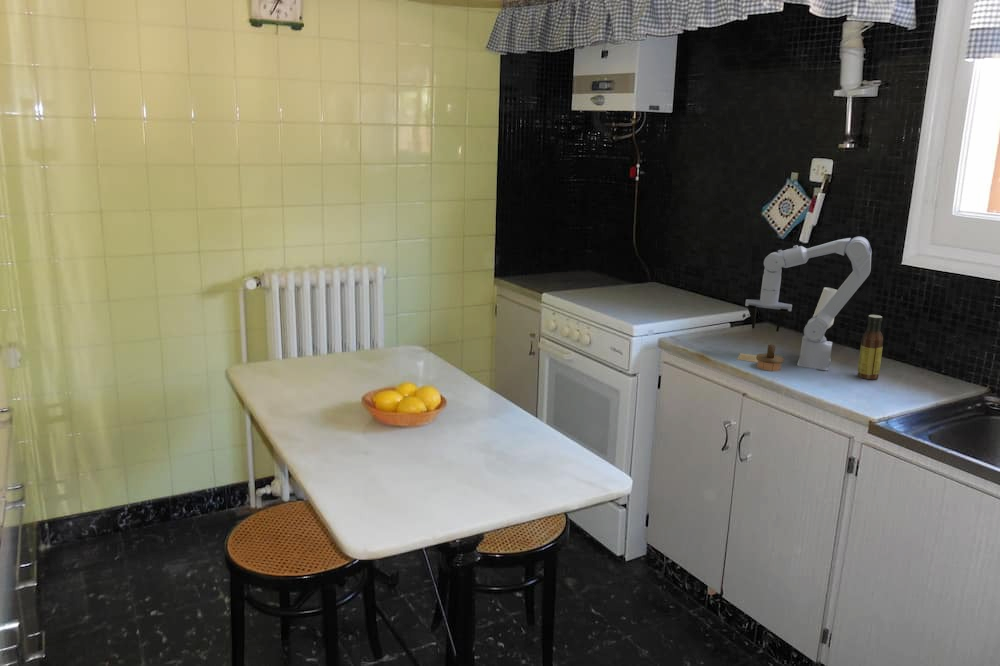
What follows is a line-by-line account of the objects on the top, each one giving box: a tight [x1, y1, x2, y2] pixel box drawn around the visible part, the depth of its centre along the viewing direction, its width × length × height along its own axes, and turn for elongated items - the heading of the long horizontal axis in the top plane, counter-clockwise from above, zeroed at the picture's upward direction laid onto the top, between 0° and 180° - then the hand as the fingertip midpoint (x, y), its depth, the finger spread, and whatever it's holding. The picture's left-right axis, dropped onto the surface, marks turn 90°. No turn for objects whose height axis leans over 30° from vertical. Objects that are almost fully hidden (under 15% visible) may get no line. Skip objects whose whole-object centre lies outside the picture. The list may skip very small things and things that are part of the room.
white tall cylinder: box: [812, 287, 838, 330], centre depth 264 cm, size 7×7×24 cm
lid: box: [756, 344, 785, 364], centre depth 254 cm, size 8×8×5 cm
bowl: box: [756, 360, 782, 372], centre depth 255 cm, size 7×7×3 cm
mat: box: [736, 352, 758, 363], centre depth 265 cm, size 9×8×1 cm
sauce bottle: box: [857, 314, 884, 380], centre depth 248 cm, size 6×6×20 cm
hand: (765, 329), depth 265 cm, fingers open, 7 cm apart
